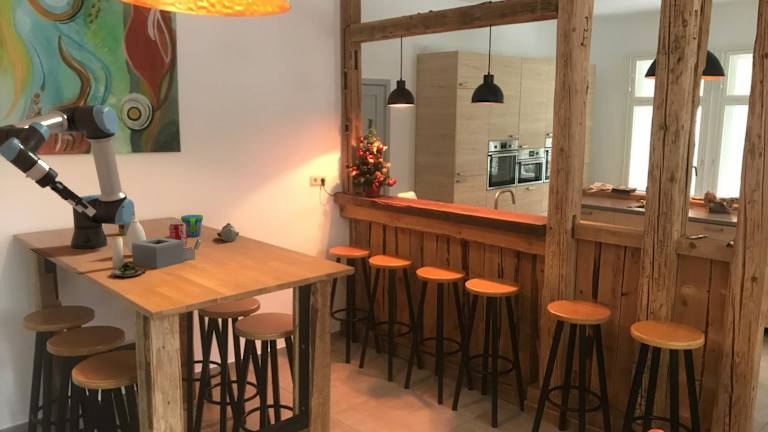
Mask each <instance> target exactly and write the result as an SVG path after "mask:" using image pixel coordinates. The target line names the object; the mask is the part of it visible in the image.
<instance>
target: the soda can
mask: <svg viewBox="0 0 768 432" xmlns="http://www.w3.org/2000/svg"><path fill="white" fill-rule="evenodd" d="M168 229H169V230H168V231H169V232H168V233H169V234H168V235H169V239H175V240H182V241H183V244H184V250H186V248H187V247H188V242H187V241H188V240H187V239H188V237H186V225H185V222H182V221H172V222H170V223H169V227H168Z"/></svg>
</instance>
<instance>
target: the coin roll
mask: <svg viewBox="0 0 768 432" xmlns="http://www.w3.org/2000/svg"><path fill="white" fill-rule="evenodd" d="M110 239H111V240H110V242H111V257H112V258H111V259H112V269H114V270H116V269H117V268H118V269H119V267H121V263H122V262H123V261H124V260H125V259H124V245H123V242H124V241H123V236H112V237H111V238H110Z"/></svg>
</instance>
